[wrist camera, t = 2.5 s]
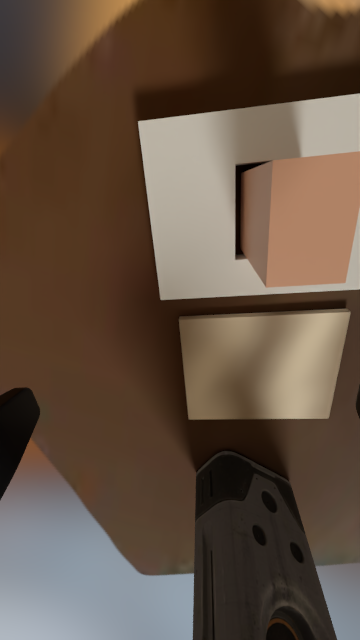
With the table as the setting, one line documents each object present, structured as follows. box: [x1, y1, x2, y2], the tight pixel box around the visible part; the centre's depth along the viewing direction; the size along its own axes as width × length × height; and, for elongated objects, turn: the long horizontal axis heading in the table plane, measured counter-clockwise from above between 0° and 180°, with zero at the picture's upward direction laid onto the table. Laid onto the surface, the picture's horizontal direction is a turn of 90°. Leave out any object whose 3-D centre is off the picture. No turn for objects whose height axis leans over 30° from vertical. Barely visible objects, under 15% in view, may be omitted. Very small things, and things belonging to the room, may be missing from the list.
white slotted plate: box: [138, 94, 360, 300], centre depth 16 cm, size 14×10×2 cm
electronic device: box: [193, 451, 337, 640], centre depth 19 cm, size 9×6×20 cm, turn 57°
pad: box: [179, 309, 351, 420], centre depth 22 cm, size 12×10×1 cm
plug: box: [240, 151, 360, 288], centre depth 13 cm, size 3×4×8 cm
